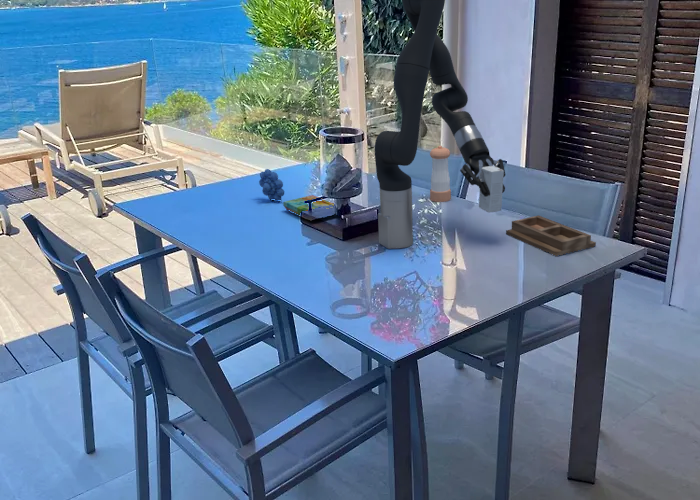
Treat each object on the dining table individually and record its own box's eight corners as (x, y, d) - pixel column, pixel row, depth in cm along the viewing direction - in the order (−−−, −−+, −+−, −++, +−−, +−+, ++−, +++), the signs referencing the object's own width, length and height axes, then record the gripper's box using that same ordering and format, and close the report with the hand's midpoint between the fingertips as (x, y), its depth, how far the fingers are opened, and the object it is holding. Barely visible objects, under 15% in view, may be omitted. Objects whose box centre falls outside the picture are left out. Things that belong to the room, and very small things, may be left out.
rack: (556, 256, 187) (556, 243, 185) (506, 234, 206) (506, 222, 204) (595, 246, 192) (596, 234, 191) (543, 225, 211) (543, 214, 210)
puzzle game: (311, 192, 244) (342, 204, 229) (312, 205, 246) (343, 218, 230) (282, 199, 238) (312, 212, 223) (284, 212, 240) (313, 225, 224)
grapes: (253, 202, 253) (250, 170, 249) (266, 197, 258) (263, 166, 254) (276, 206, 246) (273, 173, 242) (289, 201, 251) (286, 169, 247)
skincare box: (478, 207, 200) (478, 167, 196) (491, 205, 201) (492, 165, 197) (489, 213, 194) (490, 171, 190) (503, 211, 196) (504, 169, 192)
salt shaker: (426, 198, 245) (425, 145, 239) (443, 195, 248) (443, 142, 241) (437, 203, 239) (436, 149, 232) (454, 199, 242) (454, 146, 235)
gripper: (455, 139, 195) (480, 190, 188) (497, 134, 200) (521, 183, 194) (445, 155, 201) (468, 204, 195) (485, 149, 207) (509, 196, 200)
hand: (495, 193), depth 194 cm, fingers closed on skincare box, 4 cm apart
